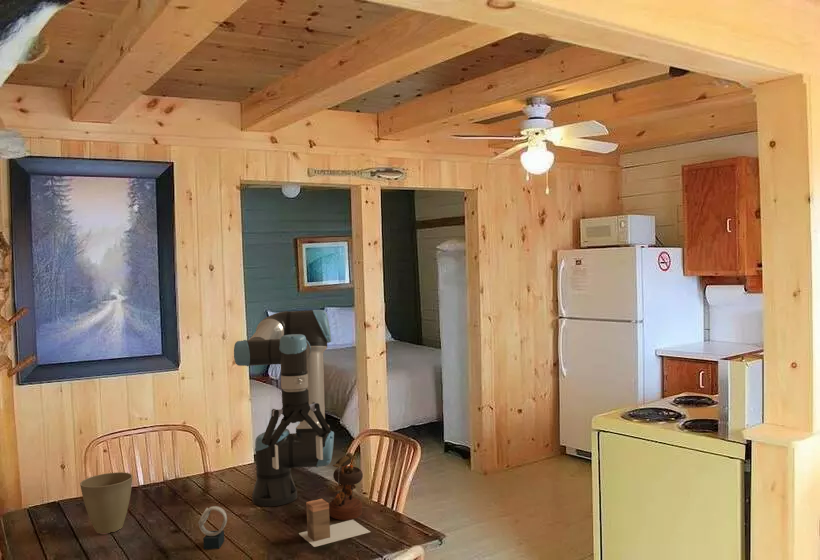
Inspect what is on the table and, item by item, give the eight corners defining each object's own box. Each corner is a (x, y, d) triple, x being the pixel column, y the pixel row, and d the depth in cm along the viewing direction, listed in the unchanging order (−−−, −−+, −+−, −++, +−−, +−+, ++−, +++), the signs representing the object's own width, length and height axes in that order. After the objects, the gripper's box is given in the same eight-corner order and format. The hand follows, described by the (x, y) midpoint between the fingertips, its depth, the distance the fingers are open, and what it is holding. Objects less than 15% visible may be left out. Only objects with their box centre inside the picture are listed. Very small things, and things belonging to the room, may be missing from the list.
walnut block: (307, 535, 200) (306, 502, 200) (323, 531, 203) (321, 498, 203) (314, 541, 196) (312, 507, 196) (330, 537, 199) (328, 503, 198)
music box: (355, 524, 209) (352, 459, 208) (322, 522, 212) (319, 458, 211) (371, 506, 223) (368, 446, 223) (339, 504, 226) (337, 445, 226)
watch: (203, 541, 200) (201, 504, 200) (230, 540, 200) (228, 503, 200) (196, 549, 194) (195, 511, 194) (225, 548, 194) (223, 510, 194)
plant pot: (145, 523, 216) (142, 473, 216) (110, 541, 202) (108, 488, 202) (107, 519, 221) (105, 470, 221) (71, 537, 207) (68, 485, 207)
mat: (298, 534, 203) (298, 533, 203) (352, 520, 212) (352, 519, 212) (314, 547, 192) (314, 546, 192) (370, 532, 202) (370, 531, 202)
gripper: (257, 397, 183) (261, 475, 184) (340, 385, 197) (343, 457, 198) (247, 393, 190) (251, 469, 190) (328, 381, 203) (331, 452, 204)
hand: (298, 463), depth 194 cm, fingers open, 13 cm apart
